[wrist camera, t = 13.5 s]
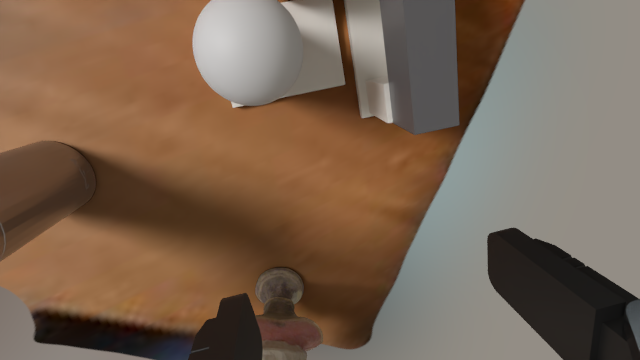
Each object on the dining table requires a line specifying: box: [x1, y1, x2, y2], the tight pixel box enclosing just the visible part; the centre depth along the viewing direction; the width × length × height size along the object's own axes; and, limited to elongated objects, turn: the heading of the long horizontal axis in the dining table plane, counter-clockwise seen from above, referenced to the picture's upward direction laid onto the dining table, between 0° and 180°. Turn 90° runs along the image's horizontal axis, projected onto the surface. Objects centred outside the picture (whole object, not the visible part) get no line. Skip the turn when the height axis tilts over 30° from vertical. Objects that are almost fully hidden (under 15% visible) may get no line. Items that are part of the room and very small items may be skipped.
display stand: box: [193, 0, 393, 123], centre depth 29 cm, size 22×19×19 cm
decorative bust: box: [255, 268, 323, 360], centre depth 38 cm, size 11×13×25 cm
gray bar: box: [379, 0, 459, 135], centre depth 27 cm, size 18×4×6 cm, turn 11°
